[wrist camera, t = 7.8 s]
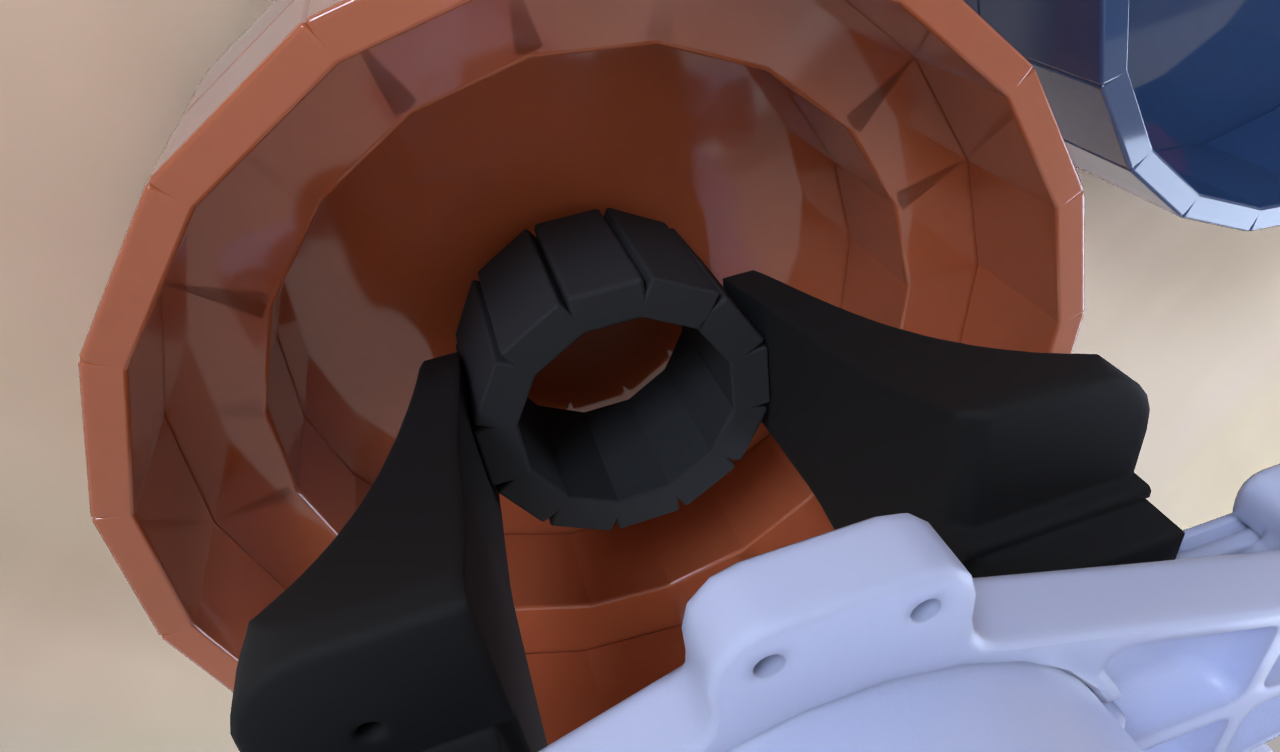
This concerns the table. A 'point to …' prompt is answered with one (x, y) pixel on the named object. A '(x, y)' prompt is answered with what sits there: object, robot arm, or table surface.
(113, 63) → the table surface
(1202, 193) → the blue round dish
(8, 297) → the table surface
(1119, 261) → the table surface
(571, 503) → the ring
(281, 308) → the bowl
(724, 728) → the robot arm
